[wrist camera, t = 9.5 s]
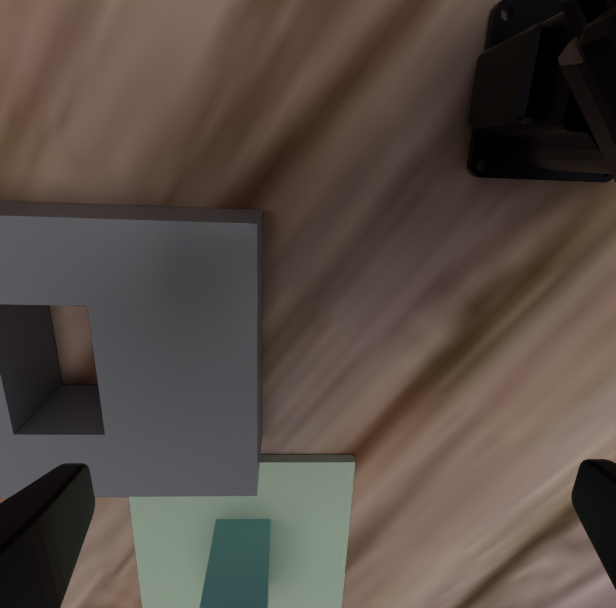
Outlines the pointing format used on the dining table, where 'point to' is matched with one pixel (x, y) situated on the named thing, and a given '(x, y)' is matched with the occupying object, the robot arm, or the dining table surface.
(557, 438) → the dining table surface
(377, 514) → the dining table surface
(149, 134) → the dining table surface
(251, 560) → the plug
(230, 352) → the socket block
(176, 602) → the mat
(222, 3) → the dining table surface
